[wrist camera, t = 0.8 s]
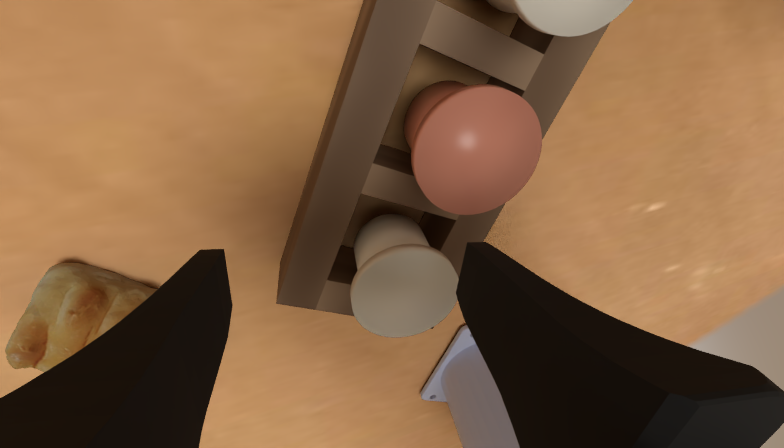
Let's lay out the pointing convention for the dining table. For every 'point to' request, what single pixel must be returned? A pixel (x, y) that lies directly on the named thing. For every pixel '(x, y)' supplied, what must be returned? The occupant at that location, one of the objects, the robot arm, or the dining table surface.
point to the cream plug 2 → (564, 14)
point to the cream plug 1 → (400, 278)
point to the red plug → (471, 145)
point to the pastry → (71, 313)
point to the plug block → (392, 166)
